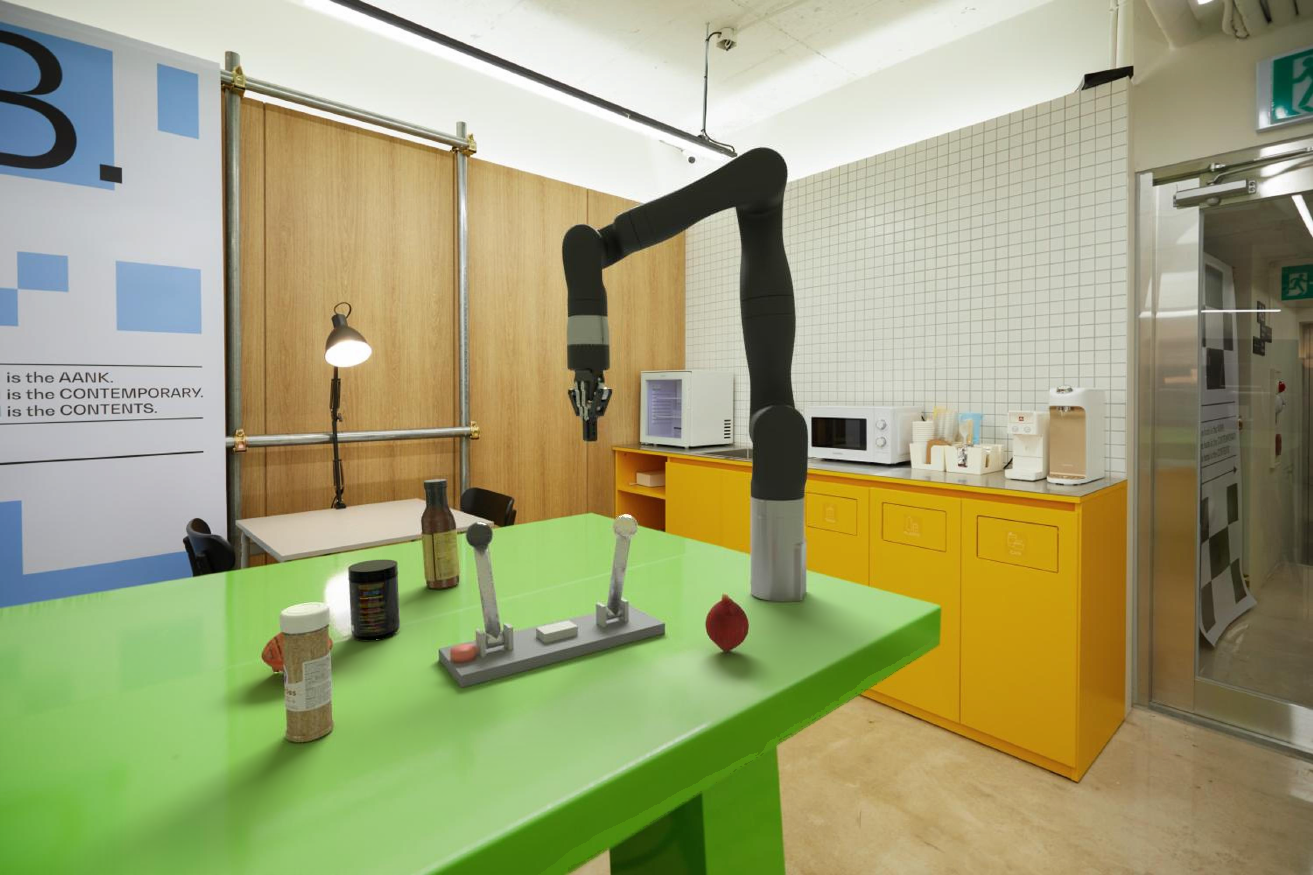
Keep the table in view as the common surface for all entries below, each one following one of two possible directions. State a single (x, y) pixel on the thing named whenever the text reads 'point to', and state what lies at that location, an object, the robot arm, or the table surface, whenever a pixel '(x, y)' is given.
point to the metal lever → (620, 563)
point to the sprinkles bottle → (307, 671)
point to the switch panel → (546, 644)
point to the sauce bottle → (439, 538)
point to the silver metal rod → (486, 582)
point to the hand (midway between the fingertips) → (590, 441)
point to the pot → (277, 653)
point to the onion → (727, 624)
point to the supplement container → (374, 599)
